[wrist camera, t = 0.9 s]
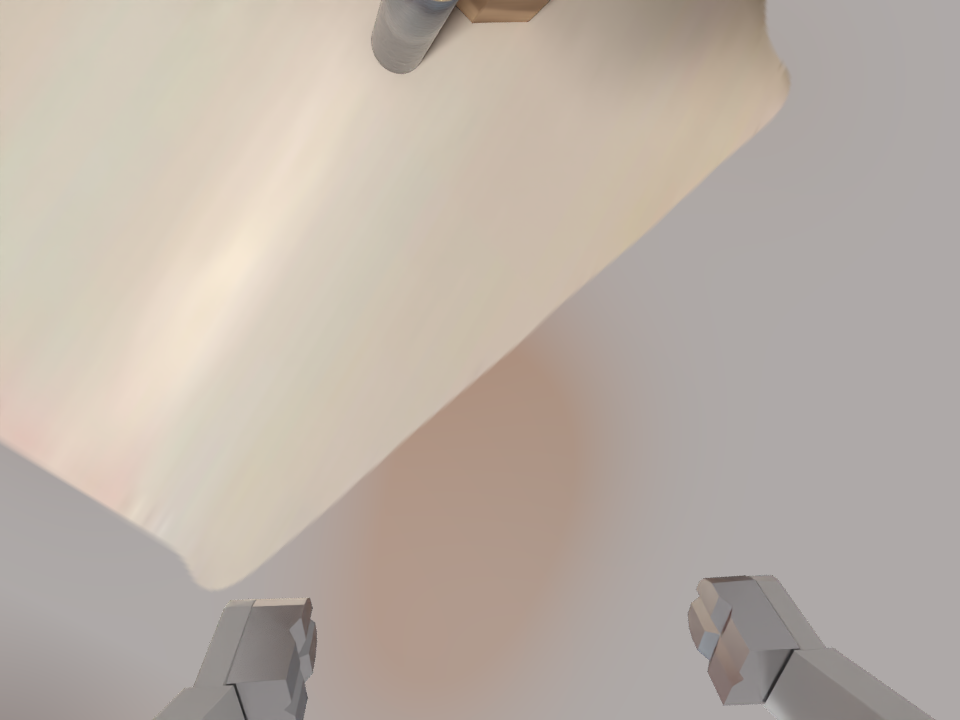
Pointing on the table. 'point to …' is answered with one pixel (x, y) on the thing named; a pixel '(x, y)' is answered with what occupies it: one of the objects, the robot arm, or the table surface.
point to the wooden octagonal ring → (500, 10)
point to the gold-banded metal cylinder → (407, 31)
